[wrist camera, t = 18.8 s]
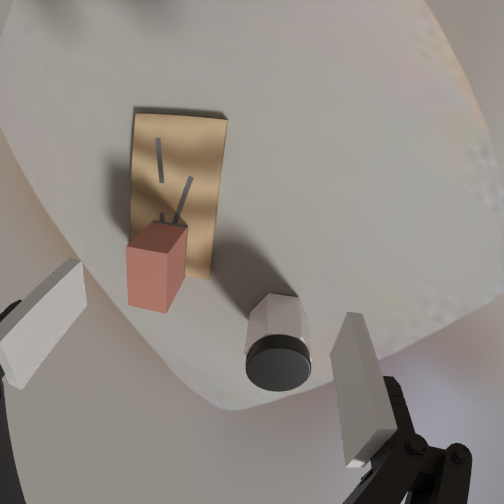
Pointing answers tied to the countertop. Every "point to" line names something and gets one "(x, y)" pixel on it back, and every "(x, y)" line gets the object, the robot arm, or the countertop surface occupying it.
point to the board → (178, 180)
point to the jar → (278, 344)
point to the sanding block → (156, 265)
